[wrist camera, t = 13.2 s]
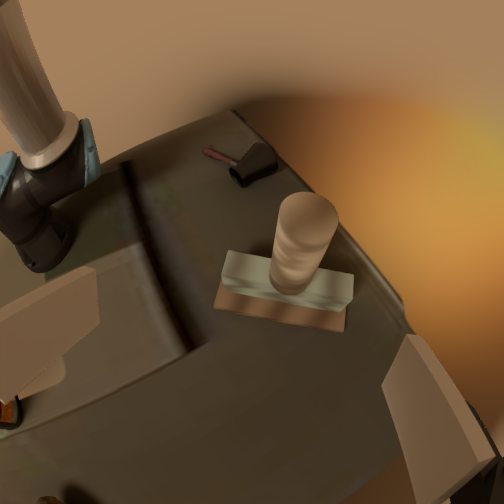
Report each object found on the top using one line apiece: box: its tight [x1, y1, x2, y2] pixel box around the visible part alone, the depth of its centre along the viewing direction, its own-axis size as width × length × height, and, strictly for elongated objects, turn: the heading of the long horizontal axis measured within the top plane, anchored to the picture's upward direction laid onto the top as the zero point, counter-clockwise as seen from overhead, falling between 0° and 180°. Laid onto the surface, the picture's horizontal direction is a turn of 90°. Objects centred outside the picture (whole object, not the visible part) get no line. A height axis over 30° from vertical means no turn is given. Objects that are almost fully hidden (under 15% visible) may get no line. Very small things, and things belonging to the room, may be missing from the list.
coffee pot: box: [202, 142, 278, 187], centre depth 58 cm, size 8×18×8 cm
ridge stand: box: [214, 250, 354, 332], centre depth 42 cm, size 21×10×7 cm, turn 78°
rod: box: [269, 192, 339, 295], centre depth 33 cm, size 6×6×14 cm
